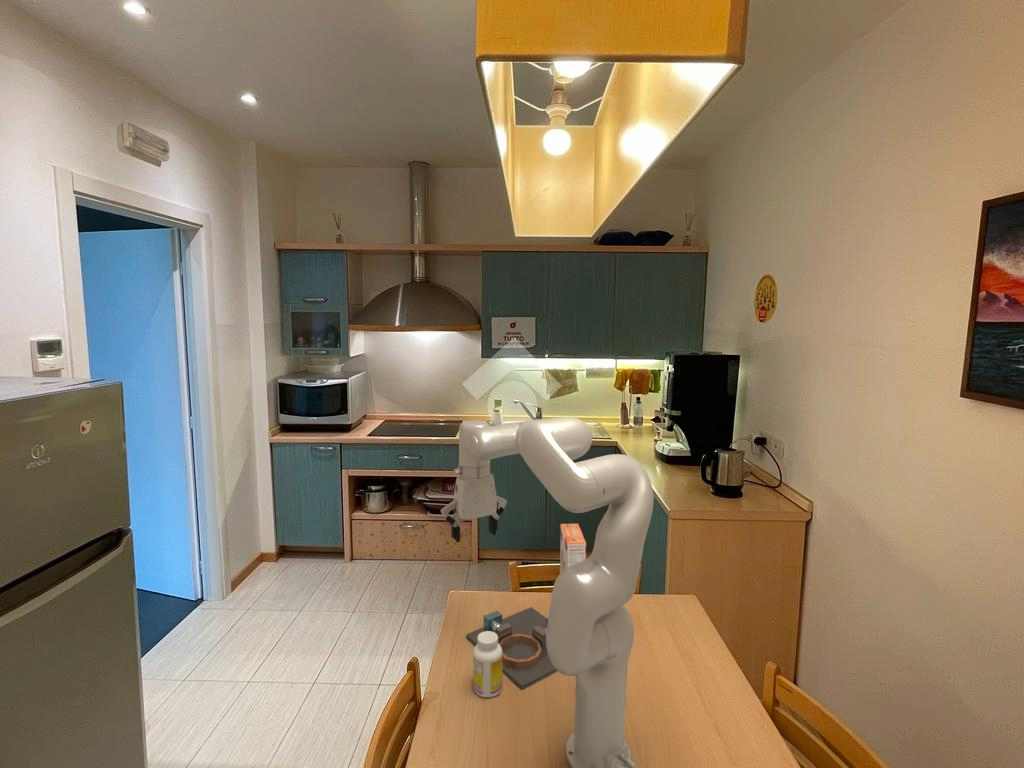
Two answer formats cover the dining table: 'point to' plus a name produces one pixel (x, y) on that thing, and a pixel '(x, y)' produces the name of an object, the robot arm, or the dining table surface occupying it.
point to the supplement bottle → (487, 665)
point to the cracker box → (571, 546)
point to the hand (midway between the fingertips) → (474, 536)
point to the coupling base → (520, 645)
